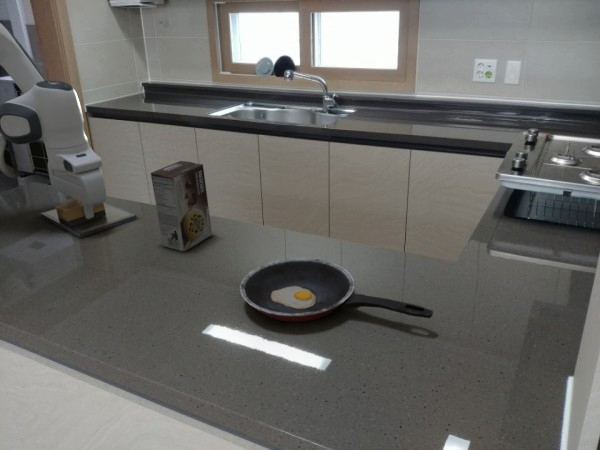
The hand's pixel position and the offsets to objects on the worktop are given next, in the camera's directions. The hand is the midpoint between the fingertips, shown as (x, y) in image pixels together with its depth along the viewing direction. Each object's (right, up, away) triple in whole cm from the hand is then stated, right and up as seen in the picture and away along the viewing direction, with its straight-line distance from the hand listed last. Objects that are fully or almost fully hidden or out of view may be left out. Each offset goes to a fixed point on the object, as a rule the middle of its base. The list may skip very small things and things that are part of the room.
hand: (82, 214), depth 124 cm
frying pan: (+56, -16, -37) cm, 69 cm away
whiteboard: (0, -1, +4) cm, 4 cm away
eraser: (0, -1, 0) cm, 1 cm away
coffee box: (+26, -6, -10) cm, 29 cm away
